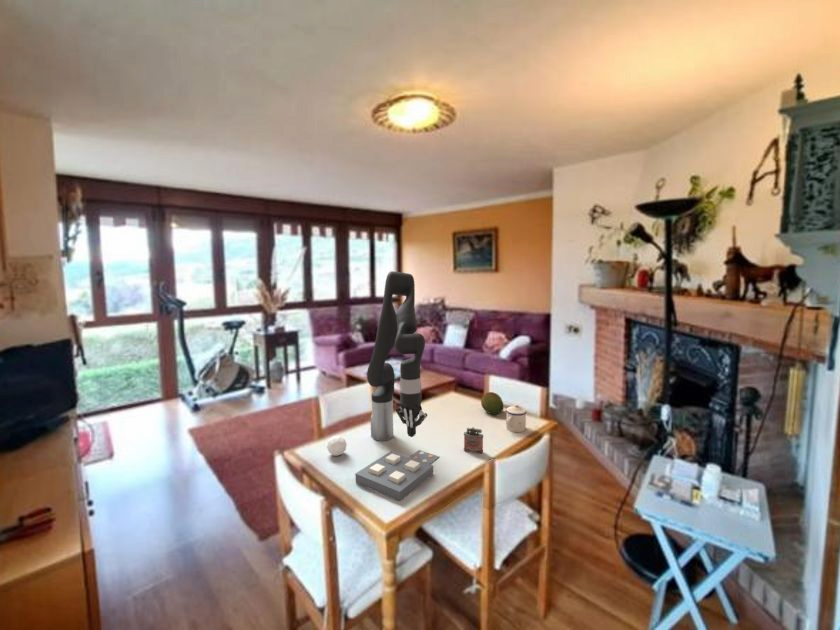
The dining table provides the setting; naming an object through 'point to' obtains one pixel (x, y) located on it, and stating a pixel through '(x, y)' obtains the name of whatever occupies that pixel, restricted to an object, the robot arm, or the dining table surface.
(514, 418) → the teacup with lid
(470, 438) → the lighter
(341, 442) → the geometric ball
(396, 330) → the robot arm
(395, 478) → the button
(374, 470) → the button
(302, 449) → the dining table surface
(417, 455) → the pattern card
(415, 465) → the button
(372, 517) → the dining table surface
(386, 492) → the button box
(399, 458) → the button
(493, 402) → the fruit
